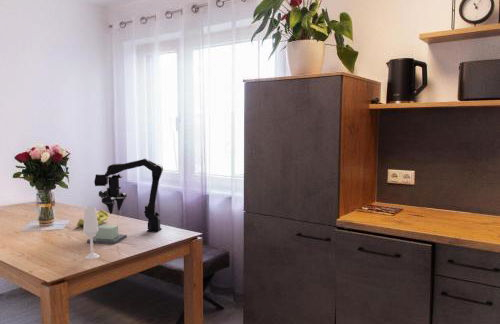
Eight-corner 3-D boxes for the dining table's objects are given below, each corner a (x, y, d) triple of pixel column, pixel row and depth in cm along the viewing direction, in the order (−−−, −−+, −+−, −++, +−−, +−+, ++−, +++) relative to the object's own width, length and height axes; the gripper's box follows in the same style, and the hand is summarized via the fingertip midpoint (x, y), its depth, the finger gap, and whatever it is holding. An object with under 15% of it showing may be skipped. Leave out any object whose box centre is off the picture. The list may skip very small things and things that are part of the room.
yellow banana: (91, 225, 234) (78, 217, 236) (88, 235, 237) (75, 227, 239) (112, 215, 253) (100, 208, 255) (108, 225, 255) (97, 217, 257)
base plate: (126, 237, 217) (126, 229, 216) (114, 244, 204) (113, 236, 204) (100, 235, 220) (100, 228, 219) (87, 242, 207) (86, 234, 207)
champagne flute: (97, 258, 182) (95, 208, 180) (82, 259, 181) (80, 209, 179) (101, 254, 189) (99, 205, 186) (87, 254, 188) (85, 206, 186)
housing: (118, 236, 214) (117, 225, 213) (112, 239, 208) (112, 228, 207) (102, 235, 216) (101, 224, 215) (95, 238, 210) (95, 227, 209)
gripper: (109, 183, 236) (110, 208, 238) (92, 188, 218) (93, 215, 219) (126, 183, 235) (127, 208, 236) (110, 188, 216) (111, 215, 218)
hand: (115, 211), depth 227 cm, fingers open, 9 cm apart
